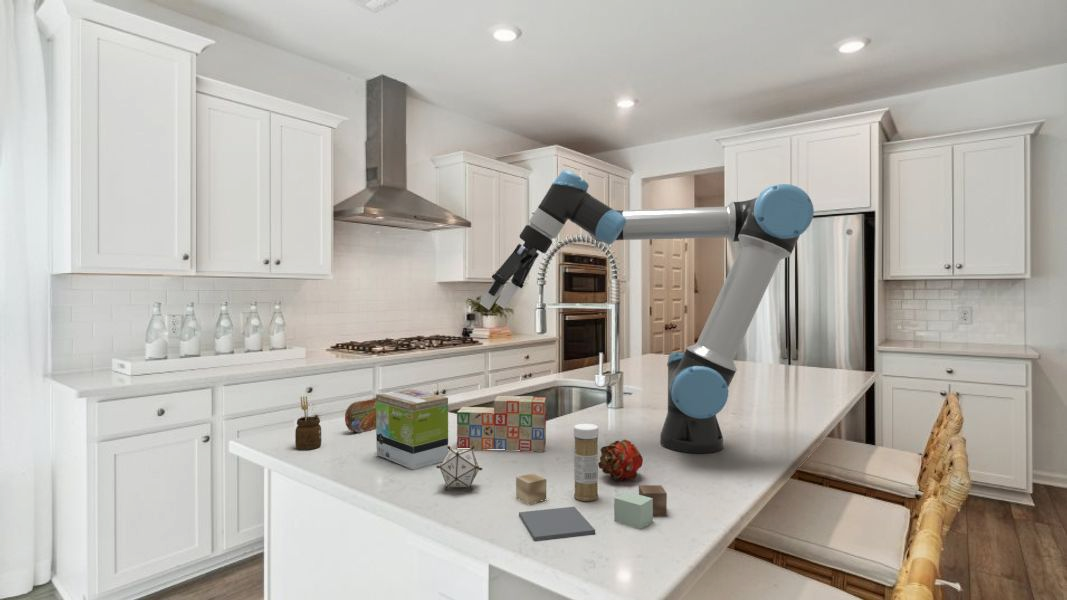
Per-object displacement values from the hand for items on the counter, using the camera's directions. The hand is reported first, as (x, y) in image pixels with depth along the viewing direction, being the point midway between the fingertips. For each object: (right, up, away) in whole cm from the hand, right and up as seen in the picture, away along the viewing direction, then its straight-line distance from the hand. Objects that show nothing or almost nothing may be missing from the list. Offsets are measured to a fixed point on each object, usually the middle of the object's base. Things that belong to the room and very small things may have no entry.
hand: (492, 306), depth 136 cm
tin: (-36, -34, +20) cm, 54 cm away
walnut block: (+31, -36, -37) cm, 60 cm away
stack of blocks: (+2, -35, +3) cm, 35 cm away
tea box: (-18, -35, -7) cm, 40 cm away
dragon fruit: (+28, -35, -20) cm, 49 cm away
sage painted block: (+27, -36, -42) cm, 61 cm away
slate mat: (+13, -35, -43) cm, 57 cm away
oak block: (+9, -35, -32) cm, 48 cm away
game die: (-5, -35, -26) cm, 44 cm away
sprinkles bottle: (+20, -35, -31) cm, 51 cm away
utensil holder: (-45, -35, +2) cm, 57 cm away
